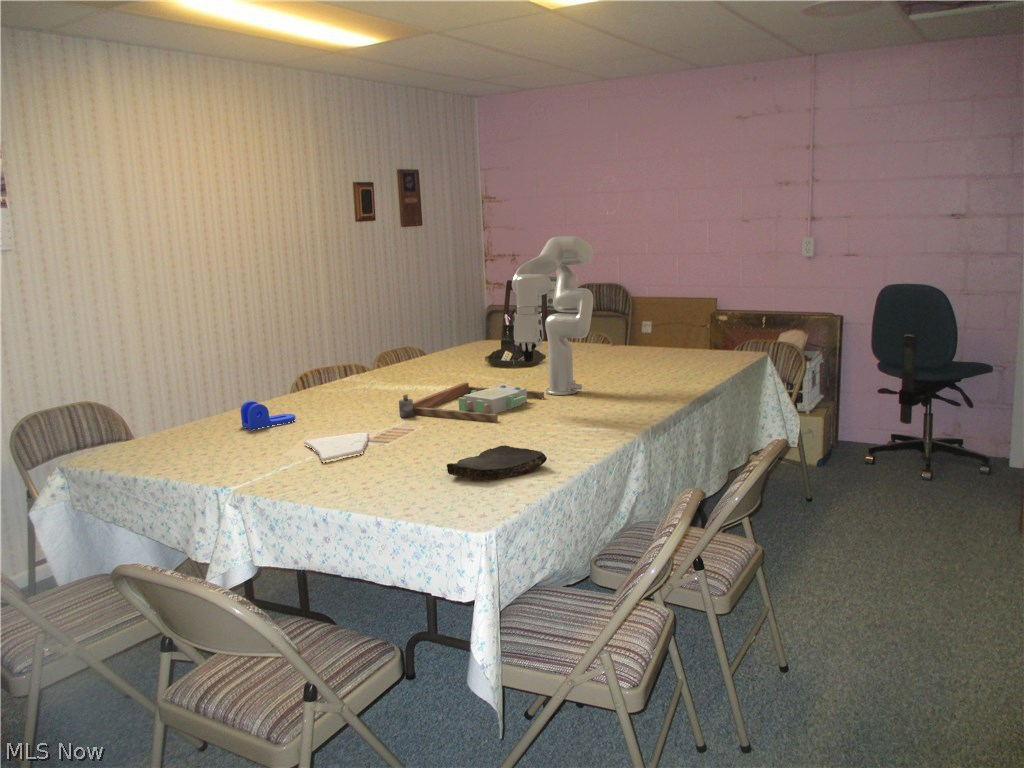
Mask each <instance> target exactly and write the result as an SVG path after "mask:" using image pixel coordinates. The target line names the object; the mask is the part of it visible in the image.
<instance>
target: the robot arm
mask: <svg viewBox="0 0 1024 768" xmlns="http://www.w3.org/2000/svg"><path fill="white" fill-rule="evenodd" d="M593 258H594V249H593V247H592V245H591V243H589V242H588V241H586V240H585V239H583V238H581V237H579V236H575V235H574V236H573V235H572V236H571V235H569V236H568V235H567V236H565V235H563V236H553V237H551V238H549V239H548V240H547V242H546V243H545V244H544V246H543V248H542V250H541V252H540V254H539V255H538V256H536V257H534V258H532V259H531V260H529V261H526V262H525V263H523V264H522V265H520V266H519V267H518V268H517V270H516V272H515V274H514V275H513V278H512V281H511V288H512V289H511V290H513V293H515V294H516V295H515V296H516V314H515V317H514V321H513V340H514V342H513V343H514V345H515V346H518V347H520V348H521V350H522V351H523V359H524V362H525V363H531V362H533V360H534V351H535V349H536V348H537V347H541V346H543V340H544V327H543V321H542V315H541V314H540V312H542V308H541V307H539V305H538V304H539V303H538V298H539V297H538V296H543V295H547V293H549V292H550V291H551V288H552V280H551V278H550V276H548V275H551V274H553V273H555V274H556V283H555V288H554V295H553V301H552V302H553V303H552V304H553V305H552V306H553V308H554V310H555V311H557V313H552V314H549V315H548V316H547V317H546V319H545V322H544V323H545V324H544V325H545V331H546V336H547V344H548V345H547V346H548V376H549V377H548V378H549V379H548V381H549V382H548V383H549V387H547V388H546V389H545V393H546V394H548V395H551V394H552V396H567V395H573V394H576V393H577V392H578V390H581V391H582V389H583V384H582V383H577V382H576V380H575V379H574V364H573V363H574V362H573V361H574V359H573V347H572V344H571V341H569V339H583V338H587V336H588V335H589V333H590V329H591V322H592V316H593V315H592V314H593V310H594V295H593V293H592V291H591V290H590V289H588V288H583V287H578V282H579V277H578V275H577V274H576V271H575V270H574V269H573V267H572V266H578V265H579V266H582V265H583V266H584V265H590V263H592V260H593ZM558 312H559V313H558ZM560 312H561V313H560Z"/></svg>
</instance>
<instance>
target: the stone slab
mask: <svg viewBox="0 0 1024 768" xmlns="http://www.w3.org/2000/svg"><path fill="white" fill-rule="evenodd" d="M547 459H548V458H547V456H546V455H545V453H544V452H542V451H541V450H540V451H539V450H534V449H529V448H525V447H524V448H521V447H520V448H519V447H513V446H509V445H506V444H505V445H498V446H496V447H493V448H487V449H485V450H484V451H481V452H480V453H479V455H475V456H470V457H465V458H461V459H459V460H458V461H457V463H456V462H455V463H452V462H450V463H447V464H446V468H447V469H446V471H447V473H448V475H449V476H451V475H452V476H455V477H460V478H464V479H465V478H466V479H470V480H475V481H477V480H480V481H481V480H482V481H484V480H494V479H504V478H508V477H515V476H519V475H521V474H525V473H527V472H530V471H533V470H535V469H537V468H539V467H541V466H542V465H544V464H545V462H547Z"/></svg>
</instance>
